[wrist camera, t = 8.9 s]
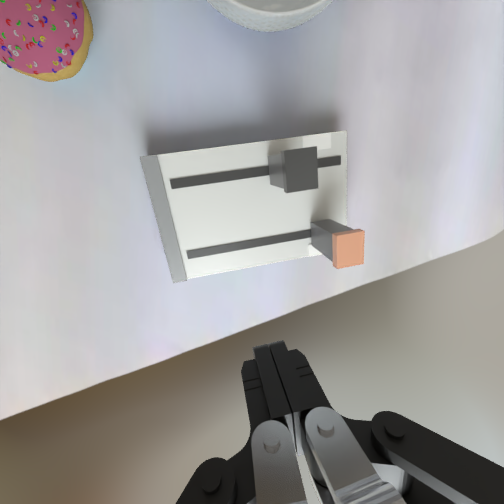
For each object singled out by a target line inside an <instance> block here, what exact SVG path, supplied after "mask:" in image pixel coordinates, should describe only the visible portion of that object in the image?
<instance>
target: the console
mask: <svg viewBox="0 0 504 504" xmlns="http://www.w3.org/2000/svg"><path fill="white" fill-rule="evenodd" d="M314 146H317V162H318V189H311V190H305V191H298V192H292V193H285V192H284V189H283V188H280V187H276V186H273V185H270V176H269V166H268V156H270V155H276V154H281V151H284V150H291V149H299V148H306V147H314ZM140 160H141V164H142V168H143V171H144V175H145V179H146V183H147V186H148V190H149V194H150V198H151V202H152V205H153V209H154V213H155V217H156V220H157V224H158V228H159V232H160V235H161V239H162V243H163V247H164V251H165V254H166V258H167V262H168V266H169V269H170V273H171V277H172V281H173V283H177V282H182V281H187V279H191V278H196V277H201V276H207V275H212V274H218V273H223V272H228V271H234V270H239V269H244V268H250V267H255V266H260V265H266V264H271V263H277V262H282V261H287V260H293V259H298V258H303V257H311V256H316V255H322V253H321V252H319V251H318V250H317V249H315V248H314V247H313V246H312V242H311V222H314V221H320V220H326V219H331V220H333V221H336V222H338V223H340V224H342V225H345V226H347V130H346V131H338V132H330V133H322V134H314V135H306V136H299V137H291V138H284V139H276V140H268V141H260V142H253V143H245V144H237V145H229V146H222V147H214V148H206V149H198V150H190V151H183V152H175V153H167V154H159V155H150V156H142V157H140Z"/></svg>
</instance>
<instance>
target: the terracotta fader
mask: <svg viewBox="0 0 504 504" xmlns="http://www.w3.org/2000/svg"><path fill="white" fill-rule="evenodd" d="M311 242H312V246H313V247H314V248H315V249H317V250H318V251H319V252H321V253H322V254H323V255H324V256H326V257H327V258H328V259H330V260H331V261H332V262H333V266H334V267H335V268H337V269H339V268H344V267H350V266H355V265H360V264H364V231H363V230H361V229H355V230H354V229H351V228H349V227H347V226H345V225H342V224H340V223H338V222H336V221H333V220H331V219H326V220H320V221H314V222H311Z"/></svg>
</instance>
